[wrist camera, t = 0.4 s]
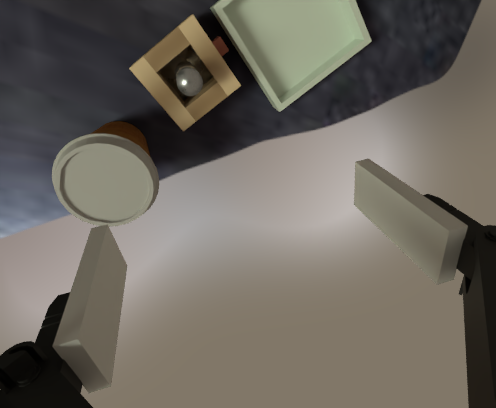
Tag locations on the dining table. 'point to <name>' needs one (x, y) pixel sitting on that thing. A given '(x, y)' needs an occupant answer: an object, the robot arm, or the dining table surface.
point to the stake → (186, 73)
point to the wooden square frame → (211, 58)
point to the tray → (292, 41)
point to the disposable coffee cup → (106, 175)
